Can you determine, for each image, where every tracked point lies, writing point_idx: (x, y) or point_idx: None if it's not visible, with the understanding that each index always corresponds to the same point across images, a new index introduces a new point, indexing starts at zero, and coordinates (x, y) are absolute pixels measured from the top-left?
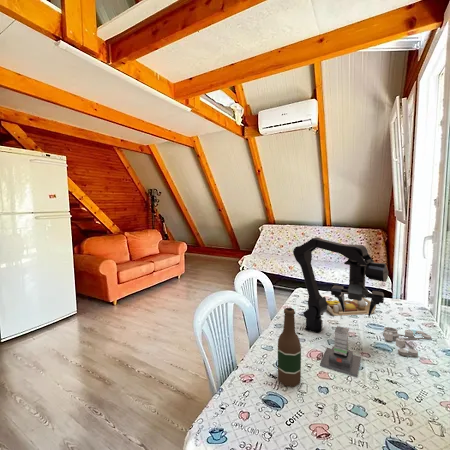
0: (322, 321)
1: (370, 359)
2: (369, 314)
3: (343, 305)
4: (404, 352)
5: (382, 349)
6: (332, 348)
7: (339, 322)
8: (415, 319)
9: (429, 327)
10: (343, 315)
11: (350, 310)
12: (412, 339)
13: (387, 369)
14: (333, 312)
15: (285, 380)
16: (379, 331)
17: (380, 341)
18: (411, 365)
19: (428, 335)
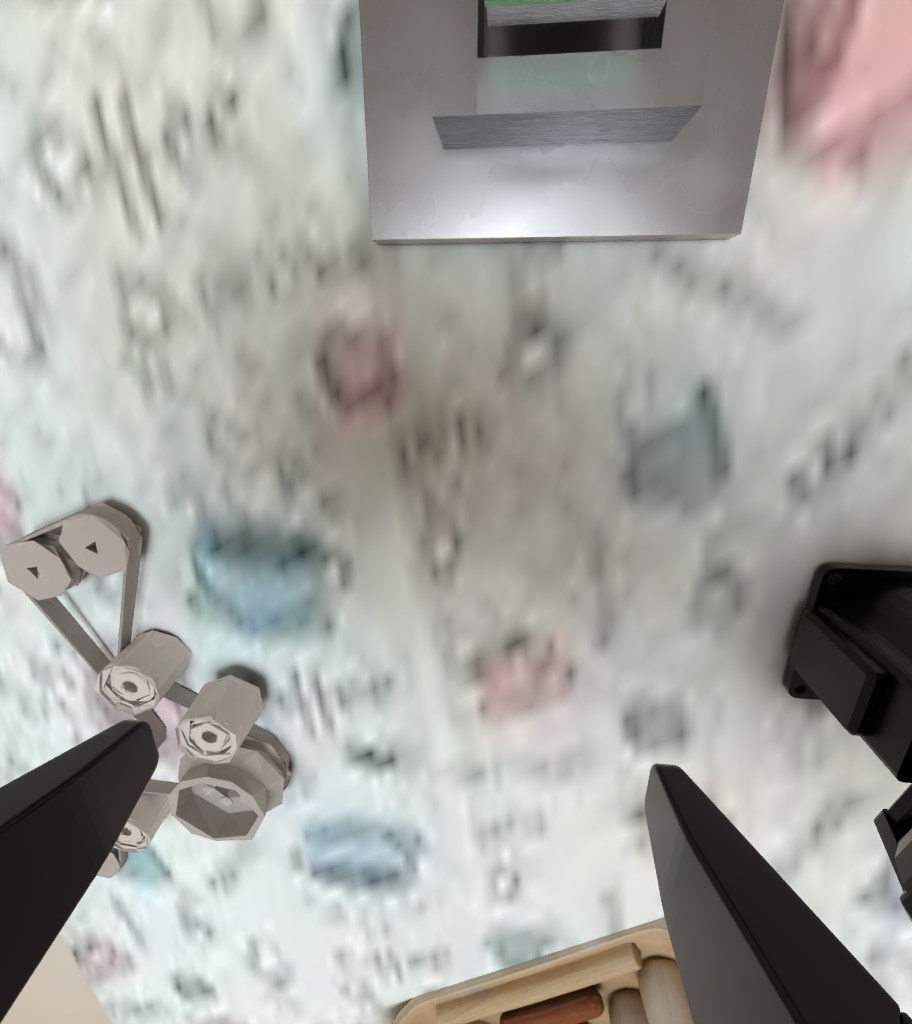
0: (839, 716)
1: (304, 301)
2: (71, 762)
3: (772, 971)
4: (74, 517)
5: (254, 539)
6: (705, 21)
7: (621, 832)
8: (170, 998)
9: (88, 934)
10: (595, 940)
11: (548, 1012)
12: None
13: (151, 194)
14: None
15: None
16: (322, 798)
17: (290, 658)
18: (32, 390)
19: None
